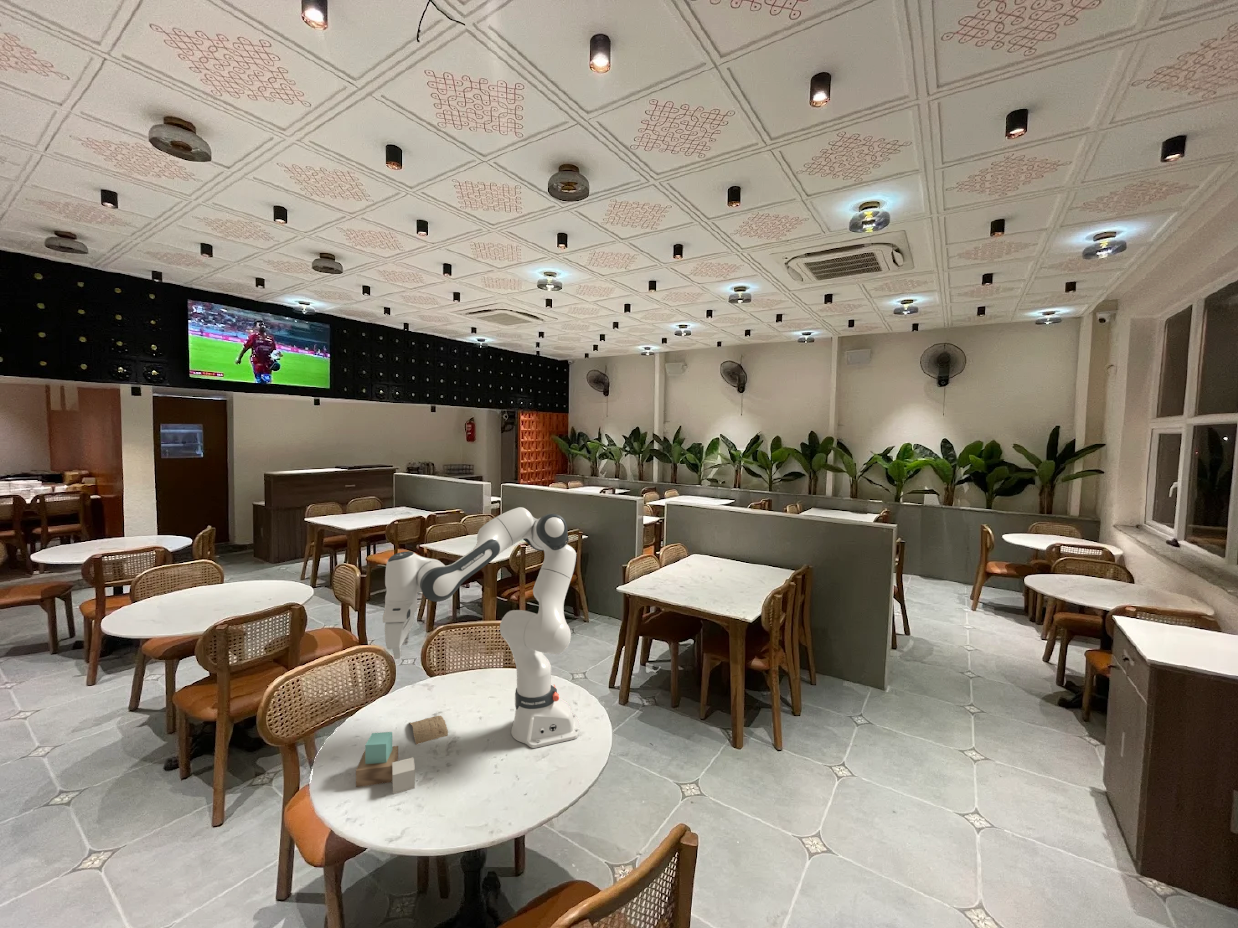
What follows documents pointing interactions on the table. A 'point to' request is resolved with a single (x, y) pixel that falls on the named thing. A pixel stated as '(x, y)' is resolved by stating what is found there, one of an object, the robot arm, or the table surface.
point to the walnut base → (375, 770)
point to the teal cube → (378, 748)
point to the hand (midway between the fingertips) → (401, 650)
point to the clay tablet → (429, 729)
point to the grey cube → (403, 775)
